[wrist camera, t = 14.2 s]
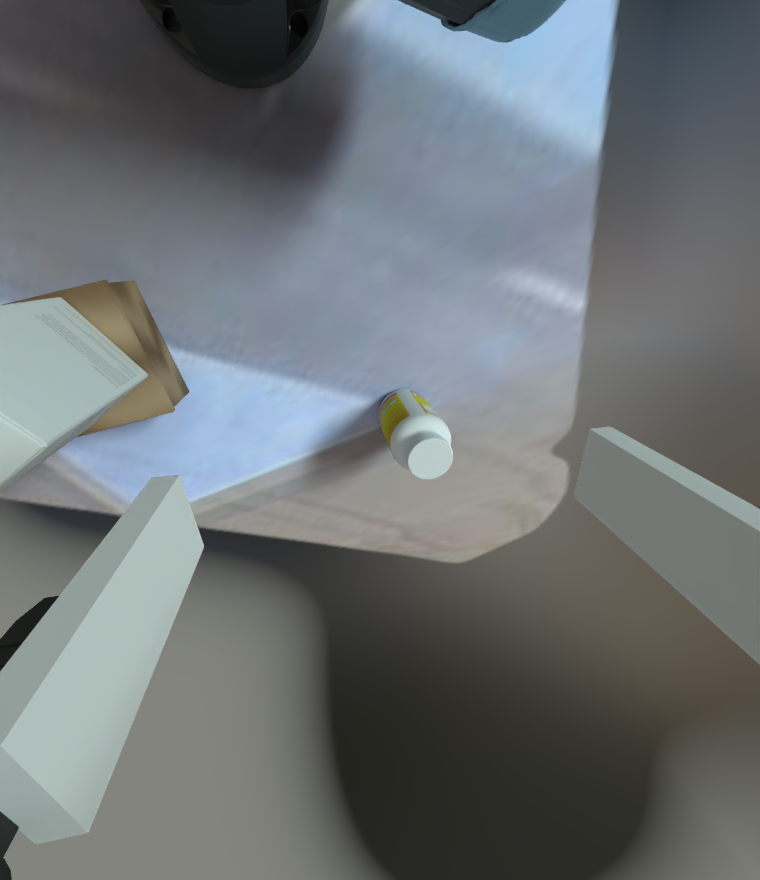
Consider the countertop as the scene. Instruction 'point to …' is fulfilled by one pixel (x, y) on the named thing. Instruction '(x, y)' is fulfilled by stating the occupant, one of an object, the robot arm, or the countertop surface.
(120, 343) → the walnut box
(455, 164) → the countertop surface
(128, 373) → the supplement box
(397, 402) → the supplement bottle
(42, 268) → the countertop surface
